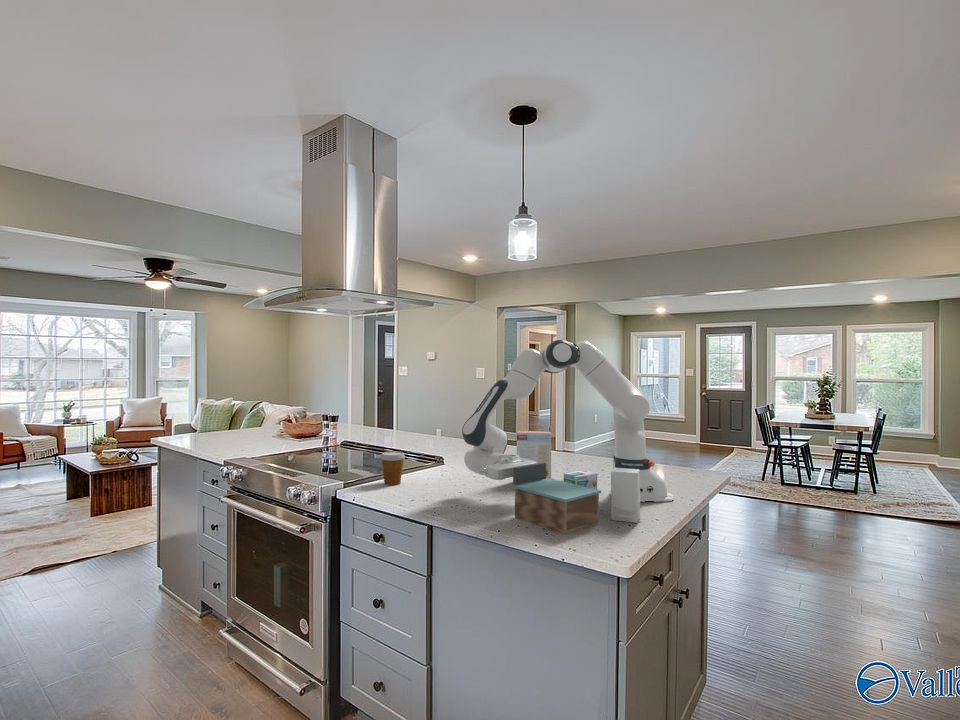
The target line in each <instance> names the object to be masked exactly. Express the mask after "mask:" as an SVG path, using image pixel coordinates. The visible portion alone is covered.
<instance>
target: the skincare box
mask: <svg viewBox="0 0 960 720" xmlns="http://www.w3.org/2000/svg"><path fill="white" fill-rule="evenodd" d="M610 490H611V495H610V501H611V503H610V505H611V506H610V507H611V511H610V512H611V515H610V516H611V521H617V522H625V523H626V522H627V523H632V524H633V523H634V524H638V523H639V521H640V520H641V519H640V518H641V502H640V469H627V468H614V469H613V468H612V469H611V471H610Z"/></svg>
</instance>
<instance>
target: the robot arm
mask: <svg viewBox="0 0 960 720" xmlns="http://www.w3.org/2000/svg"><path fill="white" fill-rule="evenodd" d="M569 367H573V368H575V369H576V370H577V371H579V373H580V374H581V375H582V376H583V378H584V379H586V381H587V382H589V384H590V385H591V386H592V387H593V389H595V390H596V391H597V392H598V394H600V395H601V396H602V398H603V399H605V400H606V402H607V403H608V404H610V406H611V407H612V408H613V411H612V412H613V427H614V428H613V429H614V455H613V459H612V460H613V461H612V470H613V469H614V468H627V469H640V503H641V502H643V503H644V502H645V501H654V502H673V501H674V500H673V499H675V498H674V495H673V494H672V493H671V492H669V491H668V487H667V483H666V481H665V480H664V478H663V477H662V476H660V475H659V474H658V473H657V472H655V471H654V470H653V469H652V468H653V467H655V461H653V460H650V459H648V458H647V457H646V452H647V451H646V450H647V449H646V448H647V445H646V443H647V441H646V439H647V438H646V437H647V435H646V432H645V423H644V422H645V421H644V419H646V418H647V416H648V415H649V413H650V410H651V408H650V402H649V399H648V398H647V397H646V395H644V394H643V392H642V391H640V390H639V389H638V388H637V387H636V386H635V385H634V384H633V382H631V381H630V380H629V379H628V378H627V377H626V376H625V375H624V374H623V373H622V372H621V371H620V370H619V369H618V367H616V365H614V364H613V363H612V361H611V360H610V359H609V358H608V357H607V356H606V355H605V354H604V353H603V352H602V351H601V350H599V348H598V347H596V346H594V345H593V344H592V343H591V342H590V341H587V340H581V341H579V342H577V343H573V342H571V341H568V340H564V339H556V340H554V341H551V342H550V343H549V344H548V345H547V346H545V348H544V349H543V350H537V349H535V348H525V349H523V350H522V351H521V352H520V353H519V354H518V356H517V357H516V359H515V360H514V361H513V363H512V366H511V367H510V369H509V371H508V373H507V375H505V377H504V378H502V379H499V380H497V381H496V382H495V383H494V384H493V386H492V387H491V388H490V389H489V391H488V392H487V393H486V395H485V396H484V398H483V399H482V401H480V403H479V405H478V406H477V407H476V410H474V412H473V413H472V415H471V416H470V417H469V418H468V419H467V420H466V421H465V422H464V424H463V426H462V431H461V432H462V433H461V434H462V437H463V440H464V442H465V444H468V445H471V446H473V447H472V448H470V449H469V450H467V451H466V452H465V454H464V457H463V458H464V459H463V461H464V465H465V467H466V468H467V469H468V470H470V472H473V473H475V474H477V475H480V476H485V477H486V478H489V479H492V480H494V481H496V480H498V481H504V480H505V479H509V478H513V467H518V466H524V465H530V464H536V463H537V462H535V461H533V460H530V459H526V458H521V457H520V456H519V455H517V454H506V450H507V447H508V441H509V440H508V439H509V438H508V434H507V432H506V431H505V430H502V429H501V428H499V427H497V426H495V425H493V424H492V423H490V422H489V420H490V418H491V417H492V415H493V414H494V412H495V410H497V408H498V406H499V405H500V404H501V403H502V402H503V401H505V400H522V399H525V398H528V397H529V396H530V395H531V394H532V393H533V391H534V389H535V388H536V385H537V383H538V381H539V379H540V376H541V375H542V374H543V373H549V374H558V373H562V372H563V371H566V370H567V369H568V368H569ZM609 495H610V496H611V489H610V490H609ZM672 500H673V501H672ZM645 503H646V502H645Z"/></svg>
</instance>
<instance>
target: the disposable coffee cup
mask: <svg viewBox="0 0 960 720" xmlns="http://www.w3.org/2000/svg"><path fill="white" fill-rule="evenodd" d="M380 458H381V459H380V460H381V465H382V473H383V482H384V483H385V484H384V483H383V484H384V485H386V484H389V485H388V486H397V484H398V485H400V484H401V483H402V482H401V481H402V475H403V469H404V468H403V467H404V461H405V458H406V456H405V453H404V452H403V451H394V450H393V451H391V450H390V451H384V452H382V453H381V455H380Z"/></svg>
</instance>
